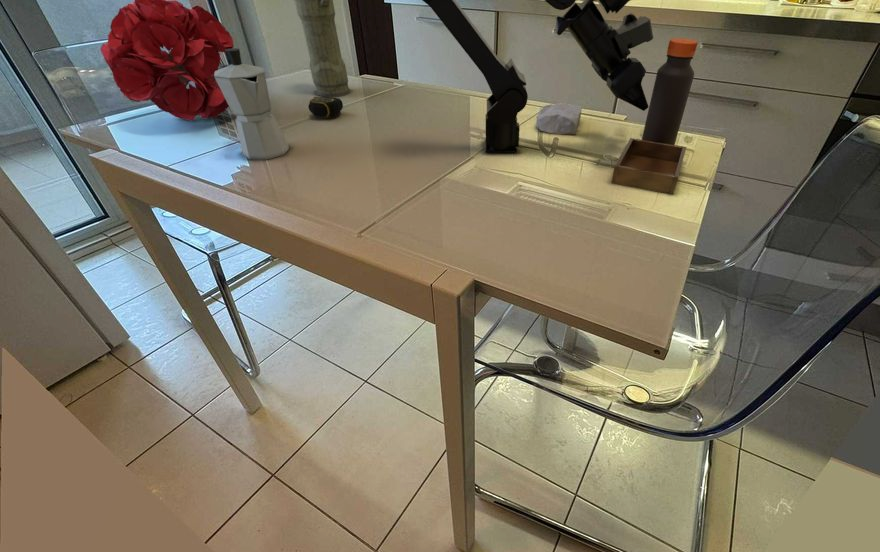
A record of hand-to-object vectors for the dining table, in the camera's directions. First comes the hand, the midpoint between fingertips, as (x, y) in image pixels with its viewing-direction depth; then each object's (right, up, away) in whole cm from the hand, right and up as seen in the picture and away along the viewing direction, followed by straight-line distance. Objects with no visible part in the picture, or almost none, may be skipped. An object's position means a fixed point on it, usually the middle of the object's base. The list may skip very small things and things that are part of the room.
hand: (639, 101), depth 88 cm
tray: (+1, -15, -3) cm, 15 cm away
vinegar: (+5, -8, +6) cm, 11 cm away
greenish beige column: (-73, +18, +33) cm, 82 cm away
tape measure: (-69, +6, +19) cm, 72 cm away
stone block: (-14, +2, +16) cm, 22 cm away
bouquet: (-97, +5, +17) cm, 99 cm away
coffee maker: (-75, -9, +2) cm, 76 cm away
